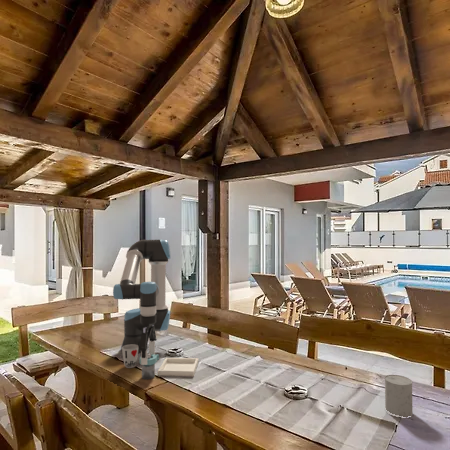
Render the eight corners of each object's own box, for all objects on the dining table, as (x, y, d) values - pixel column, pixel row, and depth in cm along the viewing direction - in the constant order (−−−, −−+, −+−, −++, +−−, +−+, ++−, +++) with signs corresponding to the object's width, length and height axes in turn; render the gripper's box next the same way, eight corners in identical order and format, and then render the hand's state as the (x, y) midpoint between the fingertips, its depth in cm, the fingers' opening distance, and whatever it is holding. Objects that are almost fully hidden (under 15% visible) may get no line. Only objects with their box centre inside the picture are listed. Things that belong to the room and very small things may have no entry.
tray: (165, 362, 187) (165, 357, 188) (198, 363, 187) (198, 358, 187) (157, 376, 170) (157, 370, 170) (193, 376, 169) (193, 371, 169)
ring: (145, 366, 164) (145, 361, 164) (137, 362, 169) (137, 357, 170) (162, 361, 170) (162, 356, 170) (154, 357, 176) (154, 352, 176)
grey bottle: (143, 374, 172) (143, 351, 172) (156, 374, 172) (156, 351, 172) (140, 379, 166) (140, 355, 166) (152, 379, 166) (152, 356, 166)
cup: (122, 369, 178) (122, 350, 178) (122, 364, 186) (122, 345, 186) (138, 368, 180) (138, 348, 180) (138, 362, 188) (138, 343, 188)
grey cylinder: (404, 405, 140) (403, 374, 141) (418, 418, 131) (417, 384, 131) (380, 406, 140) (380, 374, 140) (392, 418, 130) (392, 385, 131)
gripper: (147, 309, 182) (147, 350, 182) (132, 320, 157) (132, 368, 157) (162, 309, 182) (162, 351, 181) (149, 320, 157) (148, 369, 156)
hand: (148, 359), depth 169 cm, fingers open, 13 cm apart
